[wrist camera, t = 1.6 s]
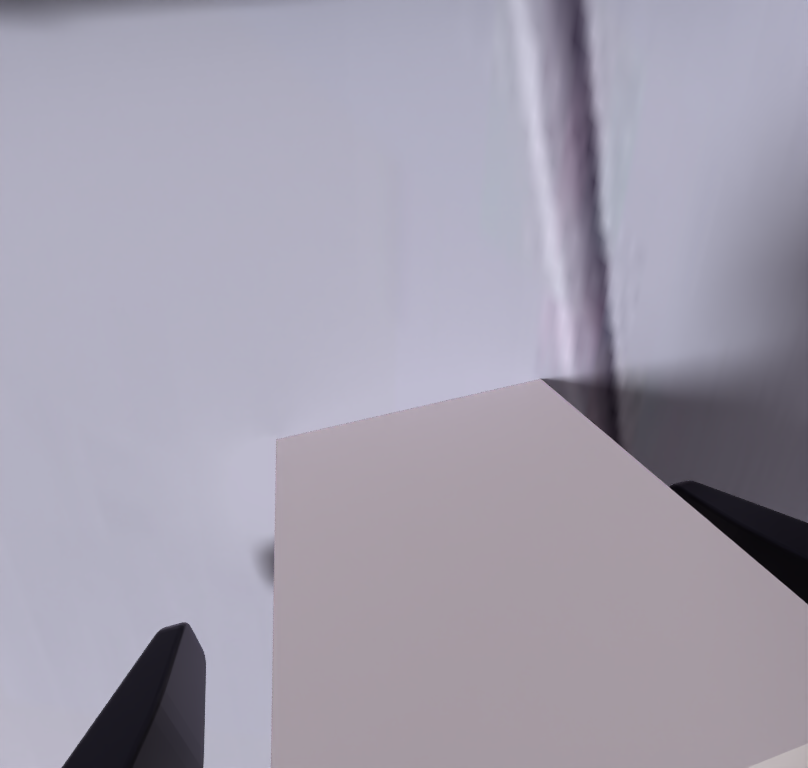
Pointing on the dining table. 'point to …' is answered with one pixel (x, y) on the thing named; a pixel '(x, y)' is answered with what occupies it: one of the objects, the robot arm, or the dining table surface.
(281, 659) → the cream block
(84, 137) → the dining table surface
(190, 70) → the dining table surface
